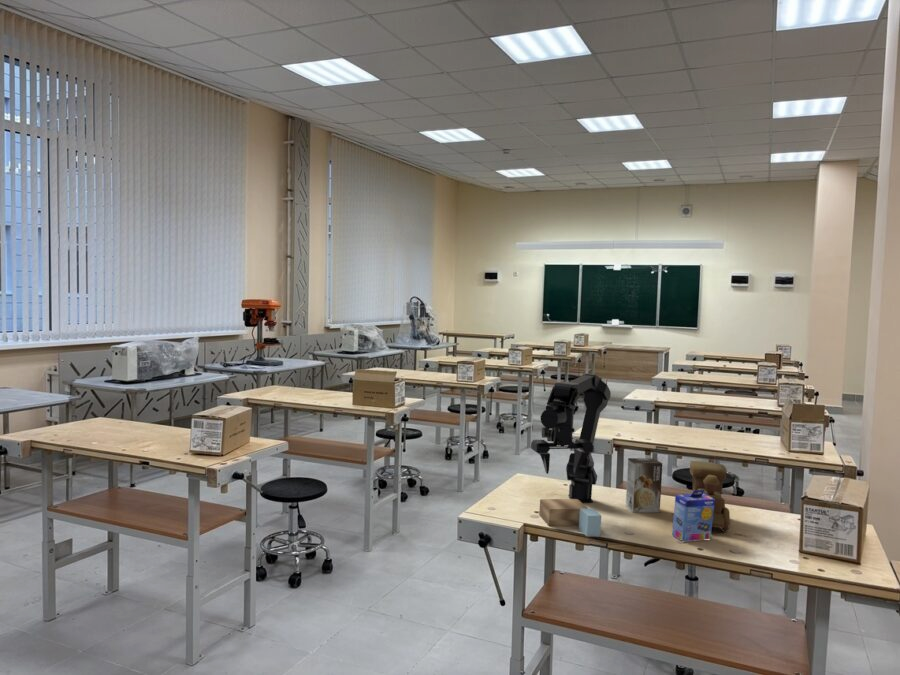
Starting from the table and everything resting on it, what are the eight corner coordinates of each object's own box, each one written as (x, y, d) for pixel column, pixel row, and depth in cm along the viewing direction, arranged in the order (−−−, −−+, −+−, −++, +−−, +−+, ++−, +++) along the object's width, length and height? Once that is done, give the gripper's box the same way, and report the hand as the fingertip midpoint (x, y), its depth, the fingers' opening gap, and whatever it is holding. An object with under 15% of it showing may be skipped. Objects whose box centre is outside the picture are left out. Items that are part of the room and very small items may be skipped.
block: (592, 508, 180) (601, 515, 175) (591, 528, 181) (600, 536, 175) (579, 508, 180) (588, 515, 174) (578, 528, 180) (586, 536, 174)
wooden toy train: (684, 509, 202) (687, 459, 201) (721, 515, 199) (725, 463, 198) (688, 530, 183) (692, 475, 182) (730, 536, 180) (735, 480, 179)
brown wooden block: (576, 514, 192) (577, 498, 191) (587, 525, 183) (588, 508, 183) (539, 515, 190) (540, 499, 189) (548, 526, 181) (549, 509, 181)
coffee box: (651, 506, 204) (655, 458, 203) (660, 513, 197) (663, 463, 196) (624, 506, 203) (627, 457, 202) (632, 512, 196) (635, 462, 196)
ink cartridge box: (683, 543, 173) (687, 492, 172) (670, 535, 178) (674, 486, 177) (712, 540, 176) (716, 490, 175) (699, 533, 181) (703, 484, 180)
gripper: (580, 418, 202) (578, 465, 203) (526, 418, 198) (523, 466, 199) (596, 425, 191) (593, 475, 192) (538, 425, 187) (535, 476, 188)
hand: (560, 473), depth 193 cm, fingers open, 9 cm apart
